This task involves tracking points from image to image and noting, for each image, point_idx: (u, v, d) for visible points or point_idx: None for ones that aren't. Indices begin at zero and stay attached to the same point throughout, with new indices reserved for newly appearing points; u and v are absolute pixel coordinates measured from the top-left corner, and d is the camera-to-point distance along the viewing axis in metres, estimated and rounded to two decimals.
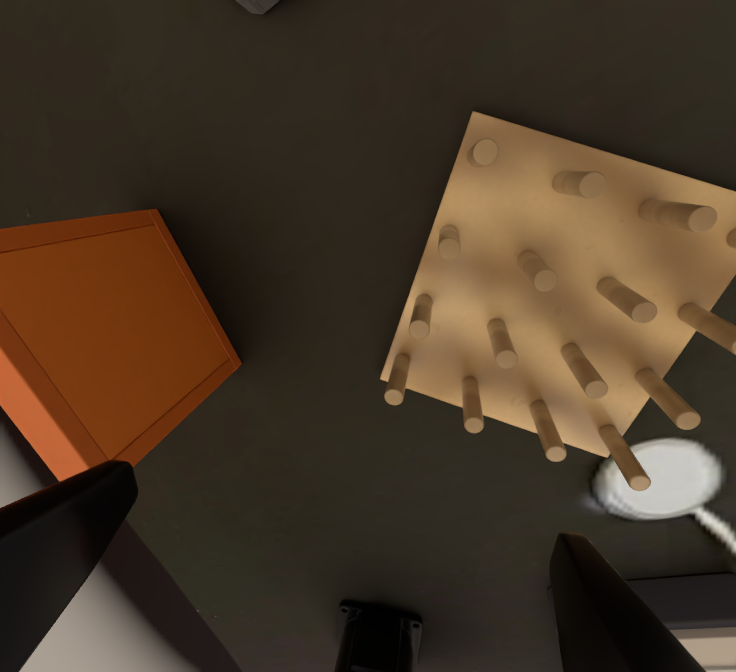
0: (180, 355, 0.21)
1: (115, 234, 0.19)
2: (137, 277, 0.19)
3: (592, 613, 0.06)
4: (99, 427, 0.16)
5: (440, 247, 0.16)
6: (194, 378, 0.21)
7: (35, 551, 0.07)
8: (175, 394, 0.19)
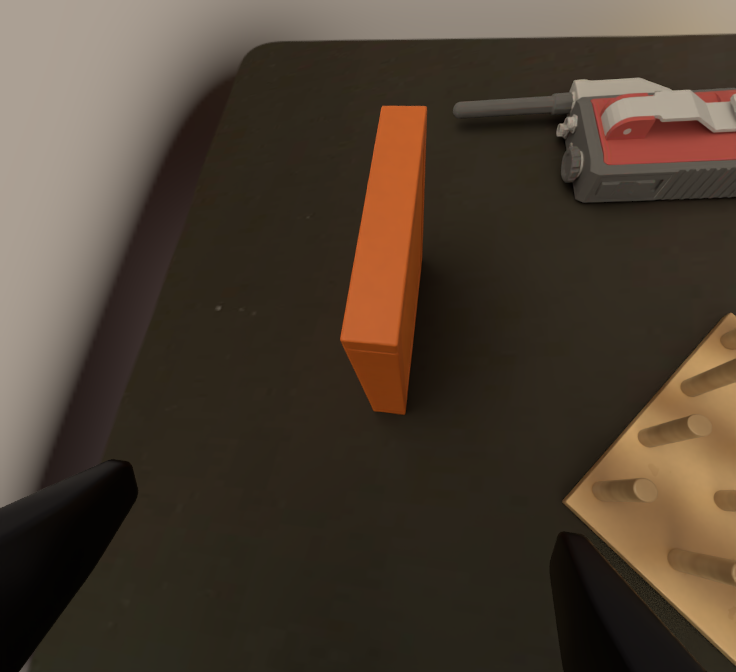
0: (408, 344, 0.19)
1: (421, 237, 0.22)
2: None
3: (592, 613, 0.06)
4: None
5: None
6: (405, 372, 0.19)
7: (35, 551, 0.07)
8: (404, 362, 0.17)
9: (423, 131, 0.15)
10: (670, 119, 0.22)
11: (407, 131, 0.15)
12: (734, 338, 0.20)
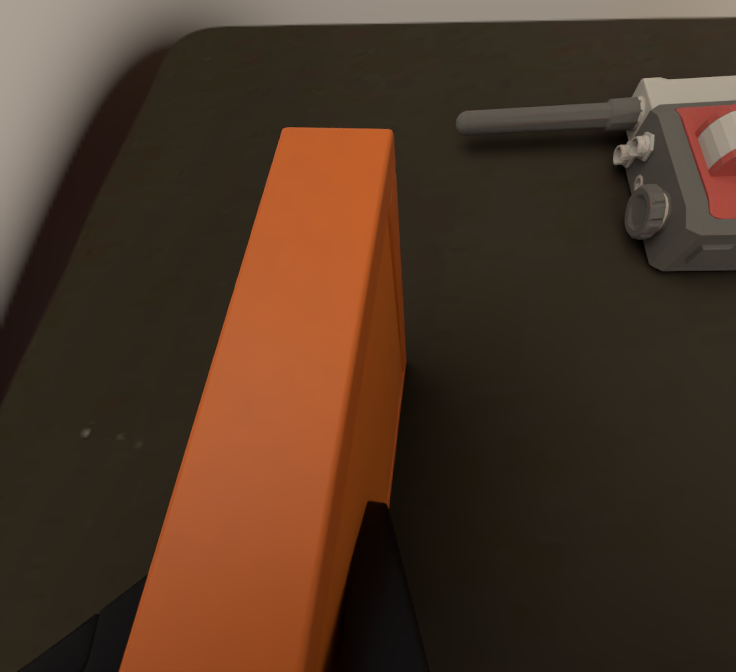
0: None
1: (399, 349, 0.12)
2: (390, 417, 0.12)
3: None
4: None
5: None
6: None
7: None
8: None
9: (381, 197, 0.06)
10: None
11: (338, 197, 0.06)
12: None
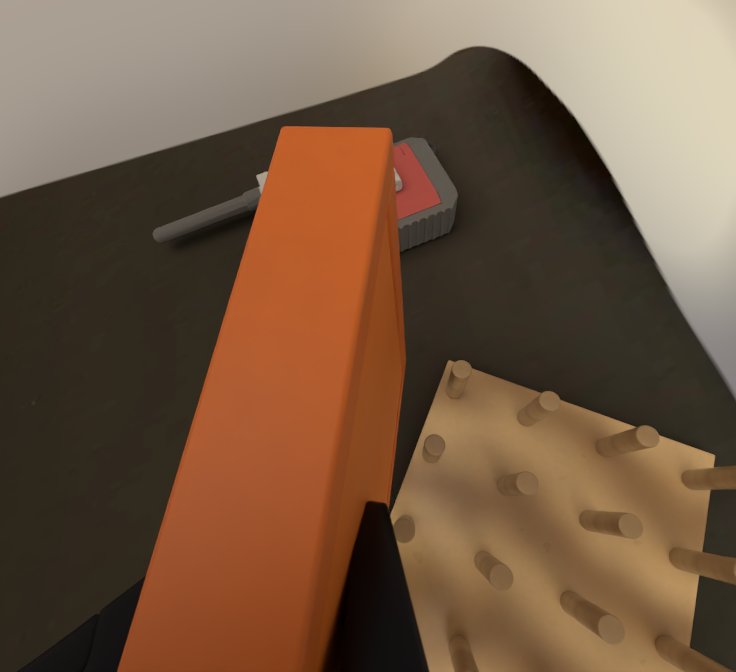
0: None
1: (399, 348, 0.12)
2: (390, 416, 0.12)
3: None
4: None
5: (426, 442, 0.17)
6: None
7: None
8: None
9: (379, 196, 0.06)
10: None
11: (336, 196, 0.06)
12: (449, 392, 0.21)
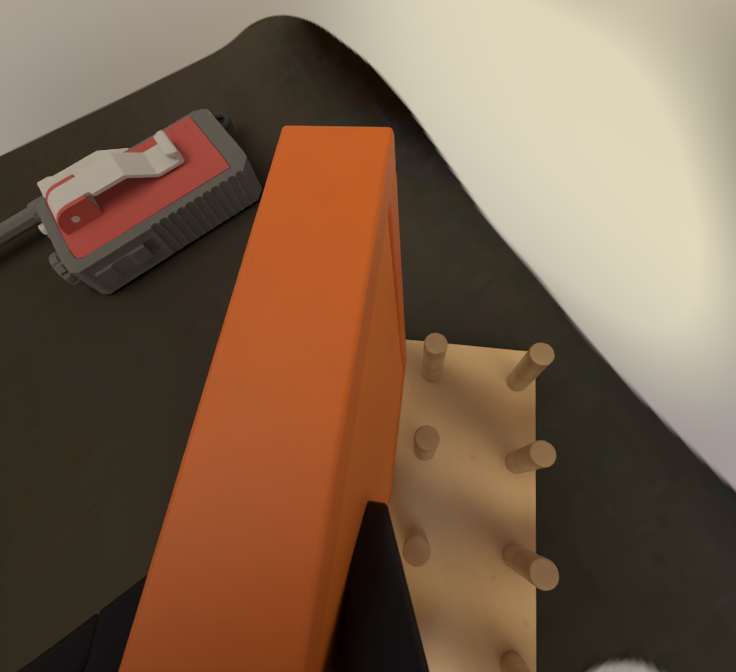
0: None
1: (400, 348, 0.12)
2: (390, 416, 0.12)
3: None
4: None
5: None
6: None
7: None
8: None
9: (380, 195, 0.06)
10: (99, 190, 0.21)
11: (338, 195, 0.06)
12: None
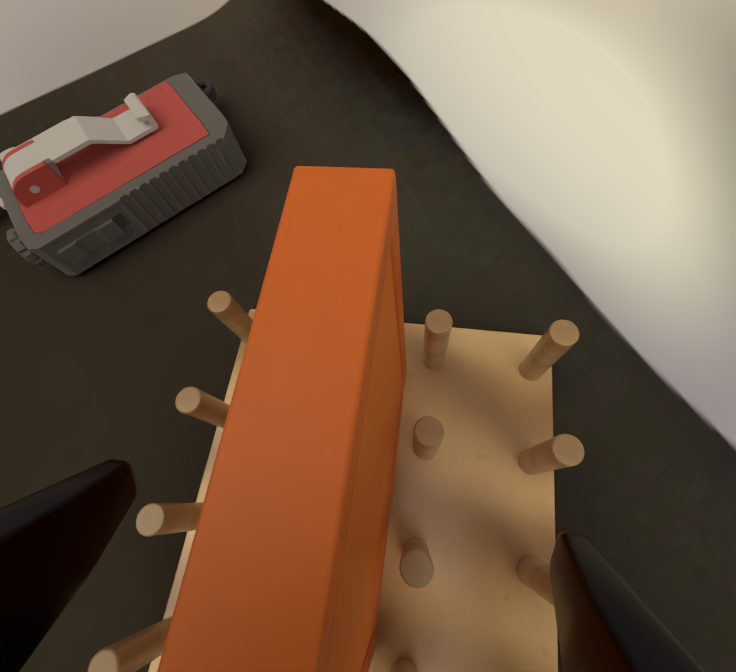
0: (370, 589, 0.10)
1: (400, 359, 0.13)
2: (392, 423, 0.12)
3: (592, 613, 0.06)
4: None
5: (177, 399, 0.13)
6: (363, 652, 0.10)
7: (35, 551, 0.07)
8: None
9: (384, 232, 0.06)
10: (61, 156, 0.19)
11: (346, 232, 0.06)
12: (244, 342, 0.17)
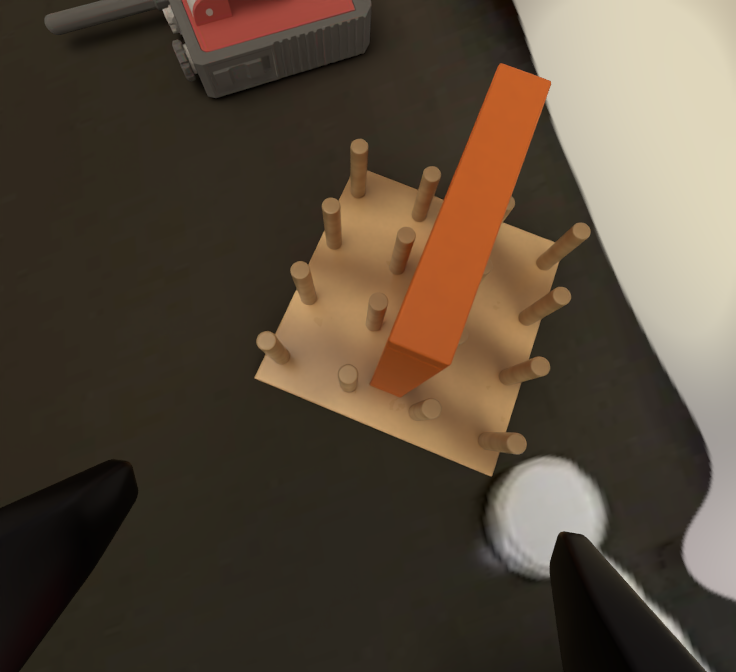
0: None
1: None
2: None
3: (592, 613, 0.06)
4: None
5: (324, 203, 0.19)
6: None
7: (35, 551, 0.07)
8: None
9: (539, 112, 0.13)
10: None
11: (522, 106, 0.13)
12: (352, 187, 0.23)
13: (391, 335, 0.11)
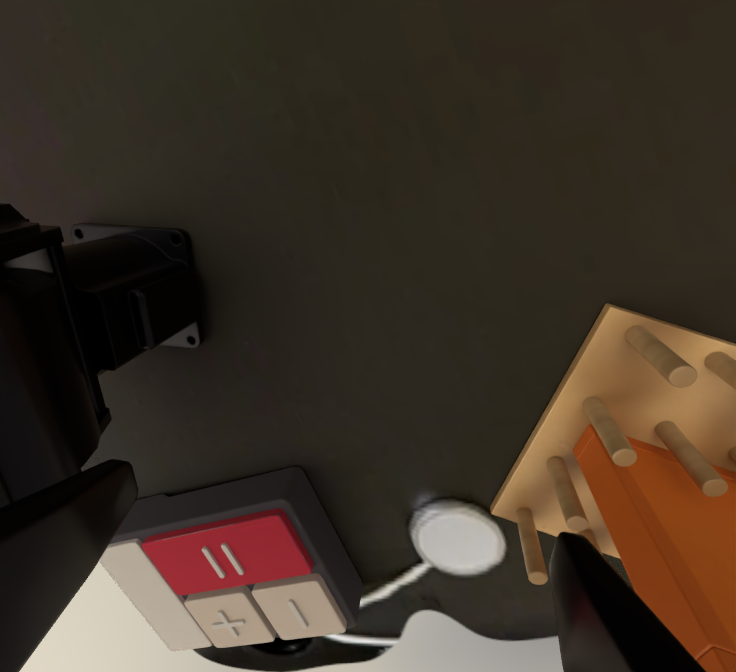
0: None
1: None
2: None
3: (592, 613, 0.06)
4: None
5: None
6: None
7: (35, 551, 0.07)
8: None
9: None
10: None
11: None
12: None
13: None
